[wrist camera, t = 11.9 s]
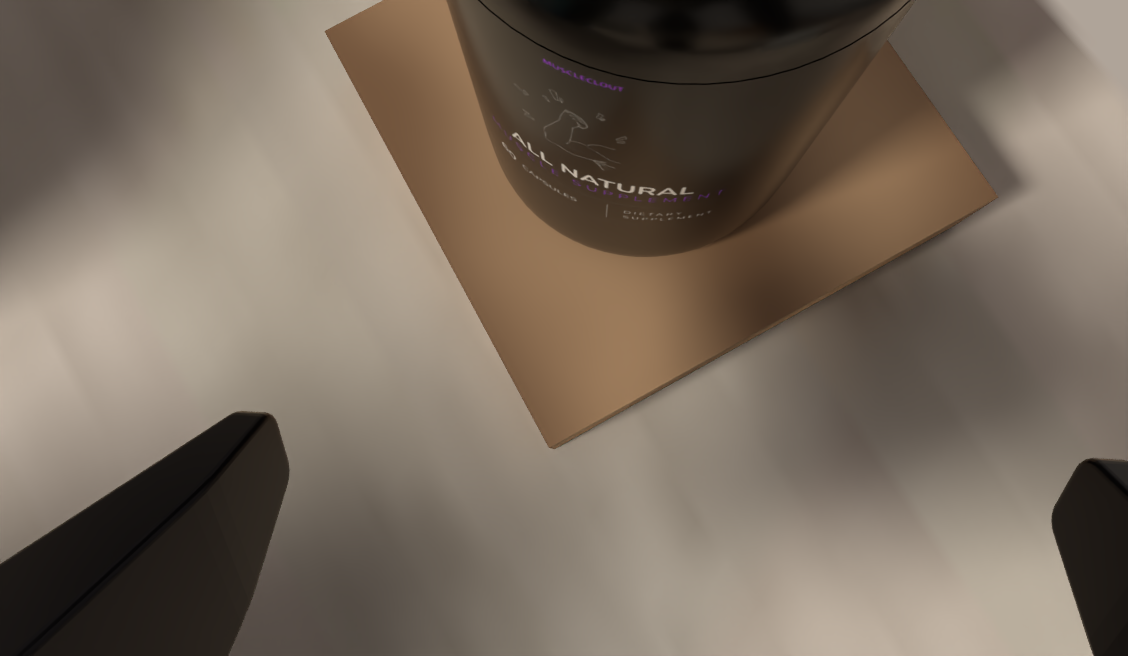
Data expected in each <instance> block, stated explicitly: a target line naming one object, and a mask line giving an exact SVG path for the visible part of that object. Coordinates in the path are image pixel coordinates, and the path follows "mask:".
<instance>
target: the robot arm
mask: <svg viewBox="0 0 1128 656" xmlns="http://www.w3.org/2000/svg"><path fill="white" fill-rule="evenodd" d="M288 480H289V462H288V458H287V455H286V452H285V448H284V445H283V441H282V438H281V434H280V431H279V427H278V424H277V421H276V419H275V418H274V417H273V415H271V414H269V413H266V412H248V411H239V412H235V413H232V414H231V415H229V416H227V417H226V418H224V419H223V420H221V421H220V422H218V423H216V424H215V425H213V426H212V427H210V428H209V429H207V430H206V431H204V432H203V433H201V434H200V435H198V436H196V437H195V438H193V439H192V440H190V441H189V442H187V443H186V444H184V445H183V446H181V447H180V448H178V449H176V450H175V451H173V452H172V453H170V454H169V455H167V456H166V457H164V458H163V459H161V460H160V461H158V462H156V463H155V464H153V465H152V466H150V467H149V468H147V469H146V470H144V471H143V472H141V473H140V474H138V475H136V476H135V477H133V478H132V479H130V480H129V481H127V482H126V483H124V484H123V485H121V486H120V487H118V488H116V489H115V490H113V491H112V492H110V493H109V494H107V495H106V496H104V497H103V498H101V499H100V500H98V501H96V502H95V503H93V504H92V505H90V506H89V507H87V508H86V509H84V510H83V511H81V512H80V513H78V514H77V515H75V516H73V517H72V518H70V519H69V520H67V521H66V522H64V523H63V524H61V525H60V526H58V527H57V528H55V529H53V530H52V531H50V532H49V533H47V534H46V535H44V536H43V537H41V538H40V539H38V540H37V541H35V542H33V543H32V544H30V545H29V546H27V547H26V548H24V549H23V550H21V551H20V552H18V553H17V554H15V555H13V556H12V557H10V558H9V559H7V560H6V561H4V562H3V563H1V564H0V656H228V655H229V652H230V650H231V648H232V646H233V643H234V641H235V639H236V636H237V634H238V632H239V629H240V627H241V625H242V622H243V620H244V617H245V615H246V612H247V610H248V608H249V605H250V602H251V600H252V597H253V594H254V591H255V588H256V585H257V582H258V578H259V575H260V572H261V569H262V565H263V562H264V559H265V556H266V553H267V549H268V546H269V543H270V540H271V536H272V533H273V530H274V527H275V523H276V520H277V517H278V514H279V510H280V507H281V504H282V501H283V497H284V494H285V491H286V488H287V484H288ZM1052 529H1053V533H1054V536H1055V539H1056V543H1057V546H1058V549H1059V552H1060V555H1061V558H1062V561H1063V564H1064V567H1065V570H1066V574H1067V577H1068V580H1069V583H1070V586H1071V589H1072V592H1073V595H1074V598H1075V601H1076V605H1077V608H1078V611H1079V614H1080V617H1081V620H1082V623H1083V626H1084V629H1085V632H1086V636H1087V639H1088V642H1089V644H1090V647H1091V650H1092V653H1093V655H1094V656H1128V461H1125V460H1116V459H1098V458H1090V459H1086V460H1084V461H1083V462H1081V463H1080V464H1079V465H1078V466H1077V467H1076V469H1075V471H1074V473H1073V474H1072V476H1071V478H1070V480H1069V481H1068V483H1067V485H1066V487H1065V488H1064V490H1063V492H1062V494H1061V496H1060V497H1059V499H1058V501H1057V503H1056V504H1055V506H1054V509H1053V513H1052Z"/></svg>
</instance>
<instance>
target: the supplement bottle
mask: <svg viewBox="0 0 1128 656" xmlns="http://www.w3.org/2000/svg"><path fill="white" fill-rule="evenodd" d="M446 1H447V4H448V7H449V11H450V14H451V17H452V20H453V23H454V27H455V30H456V33H457V36H458V39H459V42H460V46H461V49H462V52H463V55H464V58H465V62H466V65H467V68H468V71H469V74H470V78H471V81H472V84H473V87H474V90H475V94H476V97H477V100H478V103H479V106H480V110H481V113H482V116H483V119H484V122H485V126H486V129H487V132H488V135H489V137H490V140H491V143H492V146H493V149H494V151H495V154H496V156H497V159H498V162H499V164H500V166H501V168H502V170H503V172H504V174H505V176H506V178H507V179H508V181H509V183H510V184H511V186H512V187H513V189H514V190H515V192H516V193H517V195H518V196H519V197H520V198H521V200H522V201H523V202H524V203H525V205H526V206H527V207H528V208H529V209H530V210H531V211H532V212H533V213H534V214H535V215H536V216H537V217H539V218H540V219H541V220H542V221H543V222H545V223H546V224H547V225H548V226H550V227H551V228H553V229H554V230H556V231H557V232H559V233H560V234H562V235H564V236H566V237H568V238H569V239H571V240H573V241H575V242H578V243H580V244H582V245H585V246H587V247H590V248H593V249H596V250H599V251H603V252H607V253H612V254H617V255H623V256H632V257H657V256H668V255H674V254H679V253H684V252H687V251H691V250H695V249H698V248H701V247H703V246H706V245H708V244H711V243H713V242H715V241H717V240H719V239H721V238H723V237H725V236H727V235H728V234H730V233H732V232H733V231H735V230H736V229H738V228H739V227H741V226H742V225H743V224H744V223H746V222H747V221H748V220H750V219H751V218H752V217H753V216H754V215H755V214H756V213H757V212H758V211H759V210H760V209H761V208H762V207H764V206H765V205H766V203H767V202H768V201H769V200H770V199H771V197H772V196H773V195H774V194H775V193H776V191H777V190H778V189H779V188H780V186H781V185H782V184H783V183H784V181H785V180H786V179H787V178H788V176H789V175H790V173H791V172H792V171H793V169H794V168H795V167H796V165H797V164H798V162H799V161H800V160H801V158H802V157H803V155H804V154H805V153H806V151H807V150H808V149H809V147H810V146H811V144H812V143H813V142H814V140H815V139H816V138H817V136H818V135H819V133H820V132H821V131H822V129H823V128H824V126H825V125H826V124H827V122H828V121H829V120H830V118H831V117H832V115H833V114H834V113H835V111H836V110H837V109H838V107H839V106H840V104H841V103H842V102H843V100H844V99H845V97H846V96H847V95H848V93H849V92H850V91H851V89H852V88H853V86H854V85H855V84H856V82H857V81H858V79H859V78H860V77H861V75H862V74H863V73H864V71H865V70H866V68H867V67H868V66H869V64H870V63H871V62H872V60H873V59H874V57H875V56H876V55H877V53H878V52H879V50H880V49H881V48H882V46H883V45H884V44H885V42H886V41H887V39H888V38H889V37H890V35H891V34H892V33H893V31H894V30H895V28H896V27H897V26H898V24H899V23H900V21H901V20H902V19H903V17H904V16H905V15H906V13H907V12H908V10H909V9H910V8H911V6H912V5H913V3H914V2H915V1H916V0H446Z"/></svg>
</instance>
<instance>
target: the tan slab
mask: <svg viewBox="0 0 1128 656" xmlns="http://www.w3.org/2000/svg"><path fill="white" fill-rule="evenodd" d="M325 33H326V35H327V37H328V38H329V40H330V42H331V44H332V46H333V48H334V50H335V51H336V53H337V55H338V57H339V59H340V61H341V63H342V64H343V66H344V68H345V70H346V72H347V74H348V76H349V77H350V79H351V81H352V83H353V85H354V87H355V89H356V90H357V92H358V94H359V96H360V98H361V100H362V102H363V103H364V105H365V107H366V109H367V111H368V113H369V115H370V116H371V118H372V120H373V122H374V124H375V126H376V128H377V129H378V131H379V133H380V135H381V137H382V139H383V141H384V142H385V144H386V146H387V148H388V150H389V152H390V154H391V155H392V157H393V159H394V161H395V163H396V165H397V167H398V168H399V170H400V172H401V174H402V176H403V178H404V180H405V181H406V183H407V185H408V187H409V189H410V191H411V193H412V194H413V196H414V198H415V200H416V202H417V204H418V206H419V207H420V209H421V211H422V213H423V215H424V217H425V218H426V220H427V222H428V224H429V226H430V228H431V230H432V231H433V233H434V235H435V237H436V239H437V241H438V243H439V244H440V246H441V248H442V250H443V252H444V254H445V256H446V257H447V259H448V261H449V263H450V265H451V267H452V269H453V270H454V272H455V274H456V276H457V278H458V280H459V282H460V283H461V285H462V287H463V289H464V291H465V293H466V295H467V296H468V298H469V300H470V302H471V304H472V306H473V308H474V309H475V311H476V313H477V315H478V317H479V319H480V321H481V322H482V324H483V326H484V328H485V330H486V332H487V334H488V335H489V337H490V339H491V341H492V343H493V345H494V347H495V348H496V350H497V352H498V354H499V356H500V358H501V360H502V361H503V363H504V365H505V367H506V369H507V371H508V373H509V374H510V376H511V378H512V380H513V382H514V384H515V386H516V387H517V389H518V391H519V393H520V395H521V397H522V399H523V400H524V402H525V404H526V406H527V408H528V410H529V412H530V413H531V415H532V417H533V419H534V421H535V423H536V425H537V426H538V428H539V430H540V432H541V434H542V436H543V438H544V439H545V441H546V443H547V445H548V447H549V448H552V449H556V448H557V447H559V446H561V445H563V444H564V443H566V442H568V441H570V440H572V439H573V438H575V437H577V436H579V435H581V434H582V433H584V432H586V431H588V430H590V429H591V428H593V427H595V426H597V425H598V424H600V423H602V422H604V421H606V420H607V419H609V418H611V417H613V416H615V415H616V414H618V413H620V412H622V411H624V410H625V409H627V408H629V407H631V406H633V405H634V404H636V403H638V402H640V401H641V400H643V399H645V398H647V397H649V396H650V395H652V394H654V393H656V392H658V391H659V390H661V389H663V388H665V387H667V386H668V385H670V384H672V383H674V382H675V381H677V380H679V379H681V378H683V377H684V376H686V375H688V374H690V373H692V372H693V371H695V370H697V369H699V368H701V367H702V366H704V365H706V364H708V363H709V362H711V361H713V360H715V359H717V358H718V357H720V356H722V355H724V354H726V353H727V352H729V351H731V350H733V349H735V348H736V347H738V346H740V345H742V344H744V343H745V342H747V341H749V340H751V339H752V338H754V337H756V336H758V335H760V334H761V333H763V332H765V331H767V330H769V329H770V328H772V327H774V326H776V325H778V324H779V323H781V322H783V321H785V320H786V319H788V318H790V317H792V316H794V315H795V314H797V313H799V312H801V311H803V310H804V309H806V308H808V307H810V306H812V305H813V304H815V303H817V302H819V301H821V300H822V299H824V298H826V297H828V296H829V295H831V294H833V293H835V292H837V291H838V290H840V289H842V288H844V287H846V286H847V285H849V284H851V283H853V282H855V281H856V280H858V279H860V278H862V277H863V276H865V275H867V274H869V273H871V272H872V271H874V270H876V269H878V268H880V267H881V266H883V265H885V264H887V263H889V262H890V261H892V260H894V259H896V258H897V257H899V256H901V255H903V254H905V253H906V252H908V251H910V250H912V249H914V248H915V247H917V246H919V245H921V244H923V243H924V242H926V241H928V240H930V239H932V238H933V237H935V236H937V235H939V234H940V233H942V232H944V231H946V230H948V229H949V228H951V227H953V226H955V225H956V224H958V223H959V222H961V221H962V220H964V219H965V218H967V217H969V216H970V215H972V214H973V213H975V212H976V211H978V210H979V209H981V208H982V207H984V206H985V205H987V204H989V203H990V202H992V201H993V200H995V199H996V198H998V196H997V195H996V193H995V192H994V190H993V189H992V188H991V186H990V185H989V183H988V182H987V180H986V179H985V178H984V176H983V175H982V173H981V172H980V171H979V169H978V168H977V166H976V165H975V163H974V162H973V161H972V159H971V158H970V156H969V155H968V154H967V152H966V151H965V149H964V148H963V146H962V145H961V144H960V142H959V141H958V139H957V138H956V137H955V135H954V134H953V132H952V131H951V129H950V128H949V127H948V125H947V124H946V122H945V121H944V120H943V118H942V117H941V115H940V114H939V112H938V111H937V110H936V108H935V107H934V105H933V104H932V103H931V101H930V100H929V98H928V97H927V95H926V94H925V93H924V91H923V90H922V88H921V87H920V86H919V84H918V83H917V81H916V80H915V78H914V77H913V76H912V74H911V73H910V71H909V70H908V69H907V67H906V66H905V64H904V63H903V61H902V60H901V59H900V57H899V56H898V54H897V53H896V52H895V50H894V49H893V47H892V46H891V44H890V43H889V42H888V40H887V41H886V42H885V44H884V45H883V46H882V48H881V49H880V50H879V52H878V53H877V55H876V56H875V57H874V59H873V60H872V62H871V63H870V64H869V66H868V67H867V68H866V70H865V71H864V73H863V74H862V75H861V77H860V78H859V79H858V81H857V82H856V84H855V85H854V86H853V88H852V89H851V91H850V92H849V93H848V95H847V96H846V97H845V99H844V100H843V102H842V103H841V104H840V106H839V107H838V109H837V110H836V111H835V113H834V114H833V115H832V117H831V118H830V120H829V121H828V122H827V124H826V125H825V126H824V128H823V129H822V131H821V132H820V133H819V135H818V136H817V138H816V139H815V140H814V142H813V143H812V144H811V146H810V147H809V149H808V150H807V151H806V153H805V154H804V155H803V157H802V158H801V160H800V161H799V162H798V164H797V165H796V167H795V168H794V169H793V171H792V172H791V173H790V175H789V176H788V178H787V179H786V180H785V181H784V183H783V184H782V185H781V186H780V188H779V189H778V190H777V191H776V193H775V194H774V195H773V196H772V197H771V199H770V200H769V201H768V202H767V203H766V205H765V206H764V207H762V208H761V209H760V210H759V211H758V212H757V213H756V214H755V215H754V216H753V217H752V218H751V219H750V220H748V221H747V222H746V223H744V224H743V225H742V226H741V227H739V228H738V229H736V230H735V231H733V232H732V233H730V234H728V235H727V236H725V237H723V238H721V239H719V240H717V241H715V242H713V243H711V244H708V245H706V246H703V247H701V248H698V249H695V250H691V251H687V252H684V253H679V254H674V255H668V256H657V257H632V256H623V255H617V254H612V253H607V252H603V251H599V250H596V249H593V248H590V247H587V246H585V245H582V244H580V243H578V242H575V241H573V240H571V239H569V238H568V237H566V236H564V235H562V234H560V233H559V232H557V231H556V230H554V229H553V228H551V227H550V226H548V225H547V224H546V223H545V222H543V221H542V220H541V219H540V218H539V217H537V216H536V215H535V214H534V213H533V212H532V211H531V210H530V209H529V208H528V207H527V206H526V205H525V203H524V202H523V201H522V200H521V198H520V197H519V196H518V195H517V193H516V192H515V190H514V189H513V187H512V186H511V184H510V183H509V181H508V179H507V178H506V176H505V174H504V172H503V170H502V168H501V166H500V164H499V162H498V159H497V156H496V154H495V151H494V149H493V146H492V143H491V140H490V137H489V135H488V132H487V129H486V126H485V122H484V119H483V116H482V113H481V110H480V106H479V103H478V100H477V97H476V94H475V90H474V87H473V84H472V81H471V78H470V74H469V71H468V68H467V65H466V62H465V58H464V55H463V52H462V49H461V46H460V42H459V39H458V36H457V33H456V30H455V27H454V23H453V20H452V17H451V14H450V11H449V7H448V4H447V1H446V0H383V1H381V2H379V3H377V4H375V5H374V6H372V7H370V8H368V9H366V10H364V11H362V12H360V13H358V14H356V15H354V16H353V17H351V18H349V19H347V20H345V21H343V22H341V23H339V24H337V25H335V26H333V27H332V28H330V29H328V30H326V31H325Z"/></svg>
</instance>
